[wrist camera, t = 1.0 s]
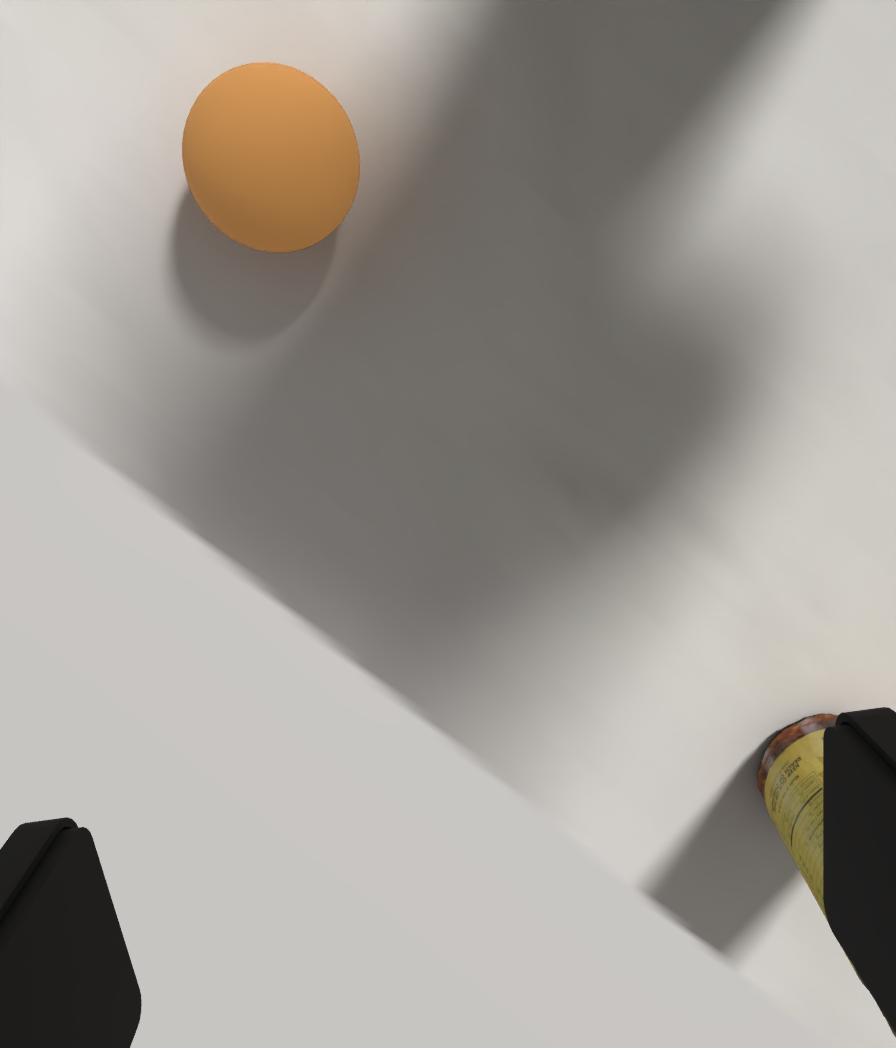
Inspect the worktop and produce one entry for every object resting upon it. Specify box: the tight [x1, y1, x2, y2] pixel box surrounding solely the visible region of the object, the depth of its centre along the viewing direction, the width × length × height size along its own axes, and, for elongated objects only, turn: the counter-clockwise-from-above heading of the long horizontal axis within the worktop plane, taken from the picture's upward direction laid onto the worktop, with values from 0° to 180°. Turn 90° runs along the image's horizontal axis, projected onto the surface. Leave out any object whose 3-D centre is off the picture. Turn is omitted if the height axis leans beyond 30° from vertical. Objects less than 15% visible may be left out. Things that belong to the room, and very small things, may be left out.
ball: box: [182, 63, 360, 253], centre depth 26 cm, size 6×6×6 cm
